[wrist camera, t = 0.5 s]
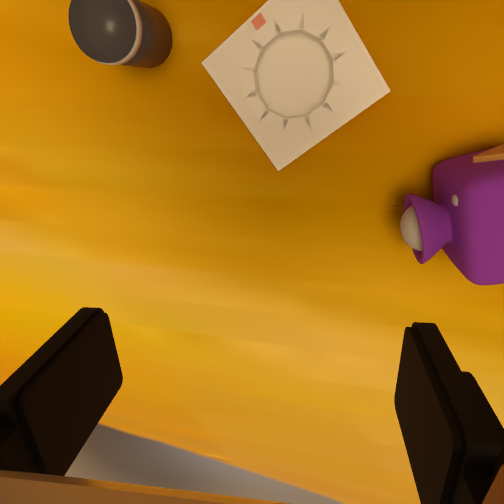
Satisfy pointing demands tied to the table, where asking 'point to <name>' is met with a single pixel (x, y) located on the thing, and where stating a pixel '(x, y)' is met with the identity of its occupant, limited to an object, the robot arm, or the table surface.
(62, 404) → the robot arm
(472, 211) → the toy camera
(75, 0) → the lens
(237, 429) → the table surface
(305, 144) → the lens mount
